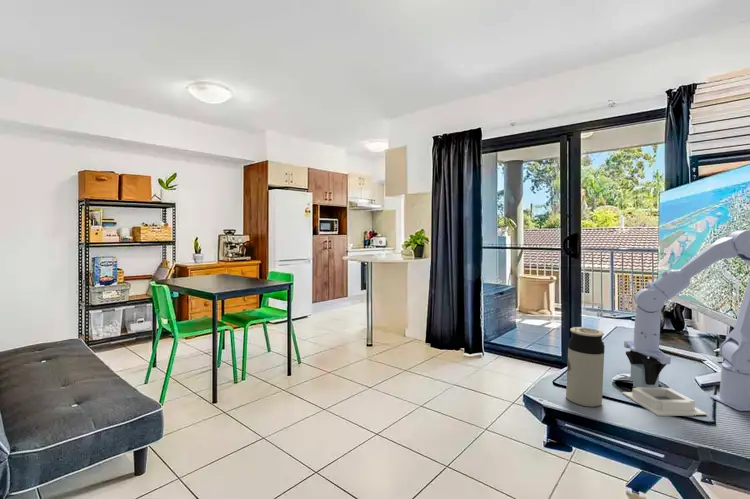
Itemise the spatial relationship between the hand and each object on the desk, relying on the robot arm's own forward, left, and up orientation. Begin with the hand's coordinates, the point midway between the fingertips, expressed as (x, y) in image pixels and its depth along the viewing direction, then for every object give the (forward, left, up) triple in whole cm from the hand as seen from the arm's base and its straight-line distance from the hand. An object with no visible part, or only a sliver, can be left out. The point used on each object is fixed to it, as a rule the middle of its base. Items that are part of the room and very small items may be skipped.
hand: (644, 380), depth 105 cm
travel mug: (+22, +8, -2) cm, 24 cm away
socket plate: (+3, +10, -2) cm, 11 cm away
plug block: (0, 0, -2) cm, 2 cm away
